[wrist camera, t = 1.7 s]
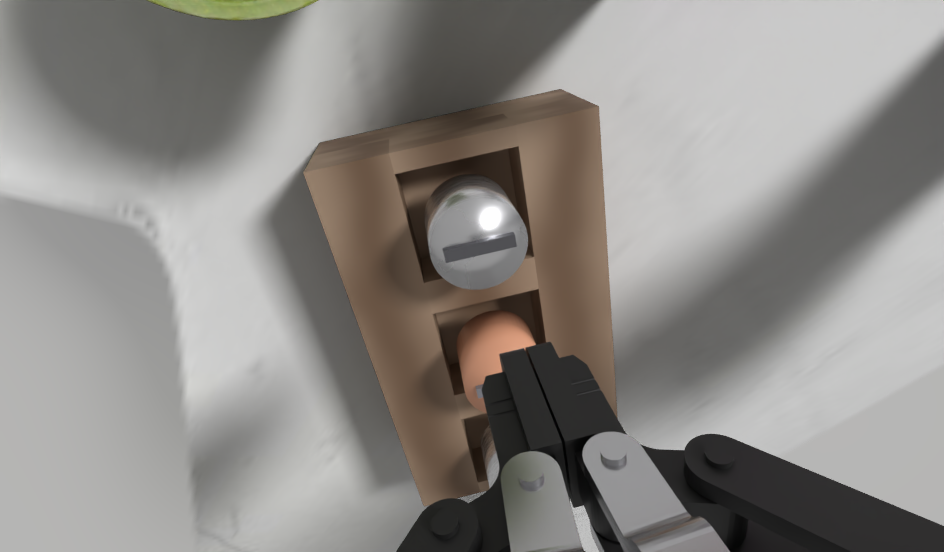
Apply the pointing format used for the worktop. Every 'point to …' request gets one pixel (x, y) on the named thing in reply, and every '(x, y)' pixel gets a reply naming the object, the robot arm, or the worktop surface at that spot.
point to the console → (450, 307)
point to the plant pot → (234, 8)
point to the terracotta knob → (488, 348)
